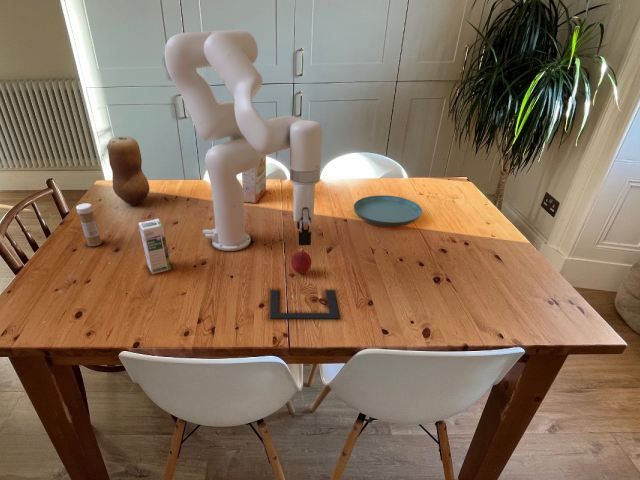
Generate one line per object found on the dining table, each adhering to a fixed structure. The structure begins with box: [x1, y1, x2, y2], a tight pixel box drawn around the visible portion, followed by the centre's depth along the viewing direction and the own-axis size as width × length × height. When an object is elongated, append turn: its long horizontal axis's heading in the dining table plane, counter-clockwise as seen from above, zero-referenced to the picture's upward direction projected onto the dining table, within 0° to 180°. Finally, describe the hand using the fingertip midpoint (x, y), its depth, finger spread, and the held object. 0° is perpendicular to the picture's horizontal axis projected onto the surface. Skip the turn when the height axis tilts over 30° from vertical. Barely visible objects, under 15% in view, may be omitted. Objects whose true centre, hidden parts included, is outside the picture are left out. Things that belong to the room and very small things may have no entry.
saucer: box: [353, 194, 423, 228], centre depth 149 cm, size 24×24×3 cm
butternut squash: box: [106, 136, 150, 207], centre depth 155 cm, size 14×13×25 cm
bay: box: [269, 289, 340, 320], centre depth 106 cm, size 17×12×1 cm
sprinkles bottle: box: [75, 202, 103, 248], centre depth 130 cm, size 5×5×14 cm
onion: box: [290, 248, 313, 274], centre depth 116 cm, size 6×6×8 cm
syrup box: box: [138, 218, 172, 275], centre depth 117 cm, size 6×6×14 cm
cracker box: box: [241, 153, 267, 204], centre depth 160 cm, size 14×6×21 cm, turn 164°
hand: (303, 236), depth 111 cm, fingers open, 9 cm apart
